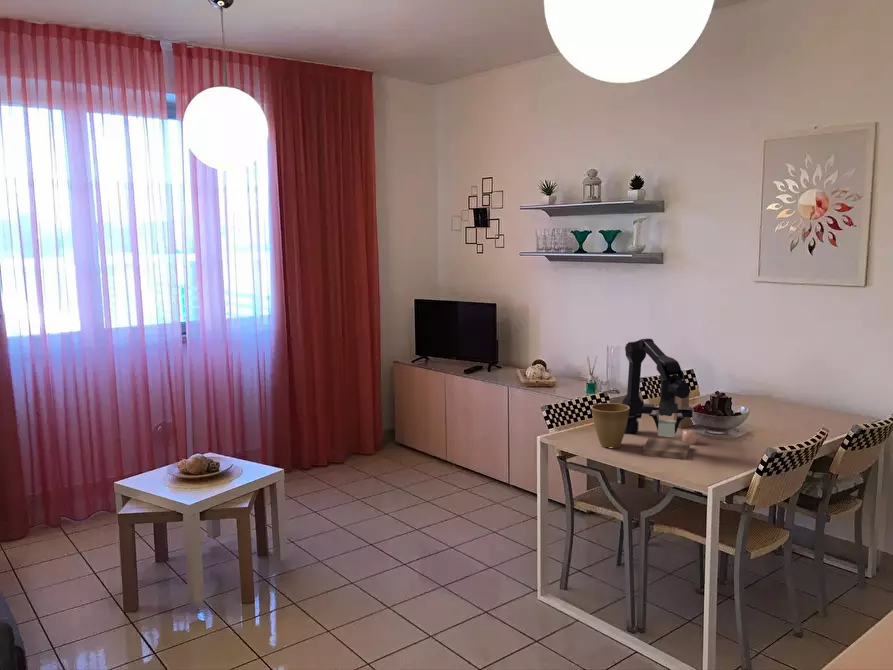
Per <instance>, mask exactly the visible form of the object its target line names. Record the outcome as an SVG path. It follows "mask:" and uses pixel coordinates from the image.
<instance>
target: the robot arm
mask: <svg viewBox="0 0 893 670" xmlns="http://www.w3.org/2000/svg"><path fill="white" fill-rule="evenodd" d="M624 350H625V357H626V358H627V360H628V362H629V363H628V375H627V376H628V377H627V388H626V389H627V390H626V391H627V392H626V393H627V394H626V396H625V397H624V398H623V400H622V403H621V404H623V405H627V406H629V407H630V409H629V416H628V421H627V426H626V430H625V433H624V434H628V433H634V434H633V435H637V433H638V432H639V430H640V427H639V425H640V421H639V419H641V418H642V416H643V414H644V415H649V417H651V418H652V419H653V421H654V423H655V427H656V429H657V431H658V423H659V421H660V416H663V417H664V416H666V417H672V416H673V414H674V413H676V414H678V416H677V420H676V426H675V433H676V434H677V431H678V429H679V428H678V426H679V423H680V422H681V420H682V419H685V417H690V418H691V417H693V415H694V413H695V412H694V411H695V410H694V408H693V407H691V406H689V407H683V408H682V409H678V403H676V397H679V398H682V399H683V398H686V397H687V396H688V395H689V396H690V393H691V389H690V388H691V387H690V386H689V385H688V384H687V383H686V380H685V377H684V372H683V370H682V369H681V365H680V363H679V362H678V361H677V360H676V359H675V358H673V357H672V356H671V357H670V356H667V355H666V354H665V352H663V351H662V349H660V348H659V346H658V345H657V344H656V343H655V342H654V340H653V339H652V338H640V339H639V340H636V341H628V343H626V344H625V347H624ZM647 356H648V357H649V358H650V360H652V361H653V362H654V363H655V365H656V371H657V372H658V374H659V375H660V376H658V378H657V379H658V380H660V393H659V394H660V401H659V403H658V406H655V404H653V403H645V404H644V401H643V400H641V397H640V387H641V375H642V373H641V372H642V363H643V362H644V360H645V359H646V357H647Z"/></svg>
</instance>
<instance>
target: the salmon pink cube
mask: <svg viewBox="0 0 893 670" xmlns="http://www.w3.org/2000/svg"><path fill="white" fill-rule="evenodd" d="M696 433H697V431H696V430H694V429H687V428H685V429H682V440H681V441H687V442H690V446H693V444H694V445H696V439H697V438H696V436H697V435H696Z"/></svg>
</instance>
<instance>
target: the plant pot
mask: <svg viewBox="0 0 893 670" xmlns="http://www.w3.org/2000/svg"><path fill="white" fill-rule="evenodd" d="M590 408H591V414H592V419H593V423H594V425H593V426H594V428H595V432H596V434H597V435H596V436H597V438H598V441H599V443H600V446H601V445H602V446H605V447H613V448H612V449H615V448H614V447H618V448H620V447H621V444H622V442H623V439H624V436H625V434H626V433H625V430H626V426H627V421H628V416H629V409H630V407H629V406H627V405H623V404H622V403H612V402H606V403H603V402H602V403H596V404H593V405H592V406H591V407H590ZM602 446H601V447H602ZM605 447H604V448H605Z"/></svg>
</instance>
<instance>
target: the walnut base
mask: <svg viewBox="0 0 893 670" xmlns="http://www.w3.org/2000/svg"><path fill="white" fill-rule="evenodd" d="M690 448H691V445H690V442H687V441H682V440H677V439H666V438H665V439H663V438H655V437H654V438H653V437H648V438H647V440H646V441H645V444H644V446H643V447H642V456H646V455H647V456H648V457H656V456H657V458H665V457H666V459H667V458H668V459H675V460H676V459H677V460H685V459H686V460H687V458H688V455H689V452H690Z"/></svg>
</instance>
